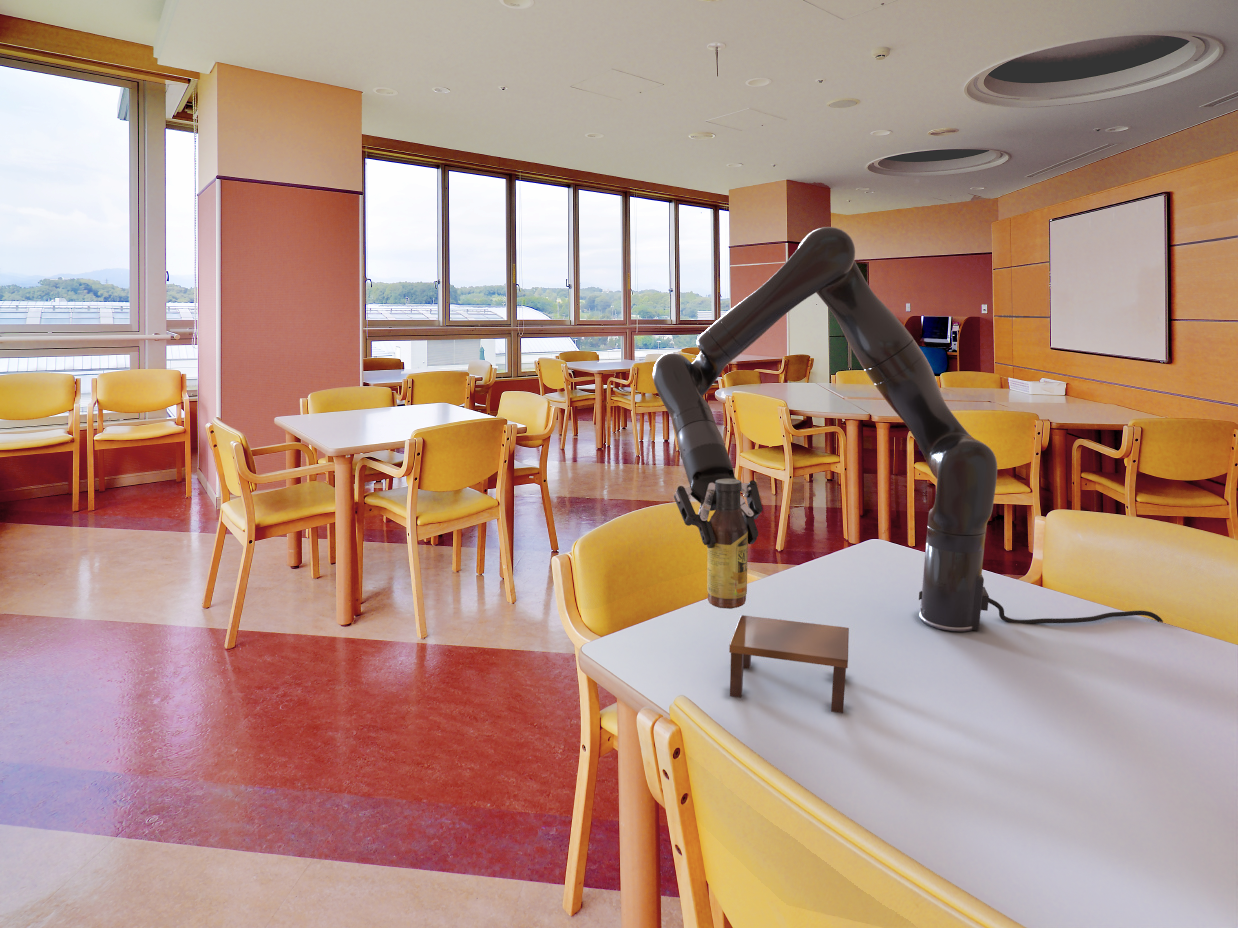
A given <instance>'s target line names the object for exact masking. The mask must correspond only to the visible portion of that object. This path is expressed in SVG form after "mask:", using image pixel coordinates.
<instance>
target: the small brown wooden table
mask: <svg viewBox="0 0 1238 928" xmlns="http://www.w3.org/2000/svg"><path fill="white" fill-rule="evenodd" d="M849 636H850V628H849V627H845V626H839V625H828V624H821V623H820V624H819V623H812V622H811V623H810V622H803V621H795V620H787V619H777V618H769V617H761V616H752V615H744V614H741V615H740V617H739V619H738V622H737V625H736V628H735V629H734V633H733V635H732V637H731V640H730V643H729V648H728V649H729V650H728V651H729V652H728V653H730V670H729V671H730V672H729V673H730V674H729V697H734V698H741V697H742V696H743V689H744V688H743V687H744V685H743V684H744V669H745V670H750V669H751V665H752V656H753V657H761V658H768V659H775V660H782V661H783V660H784V661H791V662H798V663H804V664H805V663H806V664H814V665H821V666H828V667H833V670H832V671H833V673H832V689H831V690H832V692H831V704H830V705H831V706H830V712H832V713H839V714H844V708H845V707H844V706H845V691H846V690H845V689H846V677H847V676H846V675H847V669H848V667H849V640H850V639H849Z"/></svg>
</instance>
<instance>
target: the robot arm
mask: <svg viewBox="0 0 1238 928" xmlns="http://www.w3.org/2000/svg"><path fill="white" fill-rule="evenodd" d="M855 259H856V247H855V244H854V241H853V239H852V238H851V236H850V235H849V234H848V233H847V232H846V231H844V230H842V229H840V228H837V227H833V226H822V227H818V228H816V229H814V230H811V231H810V232H809V233H807V234H806V235H805V237H804V238H803V239H802V240H801V241H800V243H799V245H798V247H797V249H796V250H795V251H794V252H793V254H792V255H791V256H790V257H789V259H788V260H787V261H786V262H785V263H784V264H783V265H782V266H781V267H780V268H779V269H778V270H777V271H776V272H775V273H774V274H773V275H772V276H771V277H770V278H769V279H768V280H767V281H766V282H764V283H763V284H762V285H761V286H760V287H758V288H757V289H756V290H754V291H753V292H752V293H750V294H749V295H748V296H746V297H744V299H743V300H741V301H740V302H739V303H737V304H736V305H734V306H733V307H732V308H731V309H729V310H728V311H727V312H726V313H724V314H723V315H722V316H721V317H719V318H718V319H717V320H716V321H715V322H713V324H711V325H710V326H709V327H708V328H707V329H706V330H705V331H704V332H702V333H701V334H700V335H699V336H698V338H697V339H696V346H697V349H698V351H699V354H698V355H697V356H696V358H695V359H694V360H693V362H691V360H689V359H688V358H687V357H686V356H685V355H683V354H681V353H679V352H667V353H664V354H663V355H660V357H659V358H658V359H657V360H656V362H655V364H654V366H653V370H652V379H653V380H652V381H653V384H654V387H655V390H656V392H657V394H658V396H659V398H660V400H661V402H662V404H663V406H664V408H665V409H666V411H667V413H668V415H669V417H670V420H671V424H672V427H673V431H674V434H675V437H676V439H677V446H678V447H677V448H678V451H679V458H680V459H681V463H682V464H683V468H684V472H685V474H686V478H687V481H688V484H689V487H684V486H682V485H678V487H677V488H676V490H675V493H674V495H673V499H674V501H675V503H676V506H677V508H678V510H679V513H680V515H681V518H682V520H683V523H684V525H686V527H687V526H688V527H690V526H695V527H697V529H698V531H699V535H700V538H701V542H702V544H703V545H704V546H706V548H707V549H708V548H713V547H714V545H715V544H716V539H715V536H714V533H713V530H712V527H711V523H710V520H709V515H710V512H713V511H714V512H715V511H716V490H715V481H716V480H718V479H737V478H736V476H735V472H734V471H735V470H734V468H733V464H732V461H731V459H730V456H729V453H728V450H727V447H726V444H725V442H724V439H723V436H722V433H721V432H720V430H719V427H718V426H717V423H716V419H715V417H714V413H713V411H712V408H711V407H710V404H709V403H708V402H707V400H706V399H705V397H703V396H704V395H706V393H707V392H708V391H709V390H710V389H711V387H712V386H713V385H714V384H715V382H716V380H718V378H719V376H720V375H721V374H722V373H723V371H724V370H725V368H726V366H727V365H729V364H730V363H731V362H733V361H734V360H735V359H736V358H737V357H739V356H740V355H741V354H742V353H744V352H745V351H746V350H747V349H749V348H750V346H752V345H753V344H754V343H756V342H757V341H758V340H759V339H760V338H761V337H762V336H763V335H765V333H766V332H768V330H769V329H771V328H772V327H773V326H774V325H775V324H776V323H777V322H779V321H780V319H782V318H783V317H785V315H787V314H788V313H790V312H791V310H793V309H794V308H795V307H796V306H798V305H799V304H801V303H802V302H804V301H805V300H806V299H809V297H811V296H813V295H815V294H817V295H818V297H819V298H820V299H821V301H822V302H823V303H824V304H825V306H826V307H827V309H829V311H830V312H831V313H832V316H834V318H835V319H836V321H837V323H838V325H839V327H840V329H841V331H842V333H843V335H844V337H845V339H846V341H847V343H848V345H849V347H850V349H851V350H852V352H853V354H854V356H855V357H856V359H857V360H858V362H859V364H860V365H861V367H862V369H863V370H864V372H865V373H866V375H867V376H868V378H869V379H870V381H871V382H872V384H873V385H874V387H875V388H876V389H877V391H878V392H879V393H880V395H881V396H882V397H883V399H884V400H885V401H886V403H887V404H888V405H889V406H890V408H891V409H892V410H893V411H894V412H895V414H896V415H898V417H899V418H900V419H901V420H902V421H903V423H904V424H905V426H906V427H907V428H908V430H909V432H910V433H911V435H912V436H913V439H914V440H915V442H916V444H917V446H918V448H919V450H920V451H921V454H922V456H923V458H924V460H925V462H926V464H927V466H928V468H929V470H930V472H931V474H932V475H933V476H934V478H935V479H936V489H935V497H934V504H933V507H932V508H930V509H929V511H928V516H927V527H926V537H925V538H926V539H925V550H924V551H925V552H924V561H923V575H922V588H921V590H920V591H919V593H918V601H920V608H919V609H920V610H919V619H920V621H921V622H923V623H924V624H925V625H927V626H929V627H932V628H935V629H939V630H943V631H949V632H958V633H959V632H970V631H977V632H978V631H980V623H981V612H982V611H984V612H985V611H986V612H987V611H988V610H989V604H990V605H992V606H994V607H995V608H996V609H997V610H998V616H999V618H1000V619H1001V620H1002V621H1003V622H1006V623H1010V624H1025V625H1036V624H1037V625H1038V624H1075V623H1087V622H1088V623H1089V622H1096V621H1100V620H1104V619H1108V618H1116V617H1118V618H1119V617H1121V618H1122V617H1132V616H1133V617H1134V616H1146V617H1149V618H1152V619H1154V620H1155V621H1156V622H1159V623H1164V620H1163V618H1161V617H1160V616H1159V615H1158V614H1156V613H1154V612H1152V611H1148V610H1127V611H1113V612H1112V611H1111V612H1106V613H1101V614H1097V615H1094V616H1085V617H1065V618H1064V617H1063V618H1053V617H1051V618H1048V617H1047V618H1032V619H1014V618H1010V617H1008V616H1006V615H1005V609H1004V607H1003V606H1002V605H1001V604H1000V603H999V602H997V601H996V600H994V599H993V598H990V595H989V593H988V591H987V589H986V586H984V584H985V578H984V576H983V565H984V554H985V543H986V535H987V527H988V526H987V525H988V522H989V520H990V519H991V517H992V514H993V508H994V501H995V494H996V488H997V480H998V479H997V478H998V461H997V457H996V455H995V453H994V451H993V450H992V448H991V447H990V446H988V445H987V444H985V443H984V442H982V441H980V440H979V439H976V438H975V437H973V436H972V435H971V434H970V433H969V432H968V431H967V429H965V427H964V426H963V425H962V424H961V422H959V420H958V419H957V417H956V416H955V415H954V414H953V412H952V411H951V409H950V408H949V406H948V405H947V403H946V402H945V399H944V397H943V395H942V392H941V390H940V386H939V384H938V381H937V378H936V376H935V373H934V371H933V368H932V366H931V363H929V361H928V359H927V357H926V355H925V354H924V352H923V351H922V349H921V348H920V346H919V345H918V343H917V342H916V340H915V338H914V337H913V336H912V334H911V332H910V331H909V330H908V329H907V328H906V326H905V325H904V324H903V323H902V322H901V321H900V319H899V318H898V317H897V315H895V314H894V313H893V312H892V311H891V309H889V308H888V306H886V305H885V303H884V302H883V301H882V300H881V299H880V298H879V297H878V296H877V295H876V294H875V293H874V291H873V290H872V288H871V287H870V286H869V284H868V282H867V280H866V279H865V277H864V275H863V273H862V272H861V269H860V268H859V266H858V264H857V262H856V260H855ZM741 483H742V489H741V492H740V493H742V495H740V505H741V507H740V508H741V511H742V514H743V517H744V520H745V523H746V526H747V529H748V545H754V544H755V542H756V541H757V538H758V537H759V530H758V528H757V527H758V526H757V525H756V522H755V520H757V519H758V518H759V516H760V515H761V513H762V512H763V505H762V500H761V496H760V491H759V487H758V483H757V481H755V479H754V480H753V479H752V480H751V479H750V481H749V482H741ZM691 497H692V498H693V499H695V500H696V501H697V503H699V504H700V505H699V507H698V512H697V513H696V511H695V509H694V506H693V504H692V502H691ZM743 497H744V498H746V500H745V499H744V498H743ZM708 520H709V521H708Z"/></svg>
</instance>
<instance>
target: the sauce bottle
mask: <svg viewBox="0 0 1238 928" xmlns="http://www.w3.org/2000/svg"><path fill="white" fill-rule="evenodd" d="M742 483H743V482H742V481H741V480H740V479H737V478H736V479H718V480H716V481H715V490H716V510H714V512H713V514H712V515H711V516H710V519H709V521H710V523H711V527H712V530H713V533H714V536H715V539H716V544H715V545H714V547H713V548H708V547H707V569H706V570H707V573H706V575H707V576H706V579H707V580H706V583H707V585H706V586H707V589H706V591H707V601H708V603H709V604H710V605H711V606H713V607H715V608H718V609H728V610H732V609H737V608H740V607H742V606H744V605H745V604H746V601H747V594H748V559H749V558H748V557H749V556H748V555H749V551H748V549H749V548H748V547H749V546H748V545H749V544H748V529H747V526H746V523H745V520H744V517H743V514H742V511H741V508H740V507H741V505H740V496H741V493H742V492H741V489H742Z"/></svg>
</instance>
